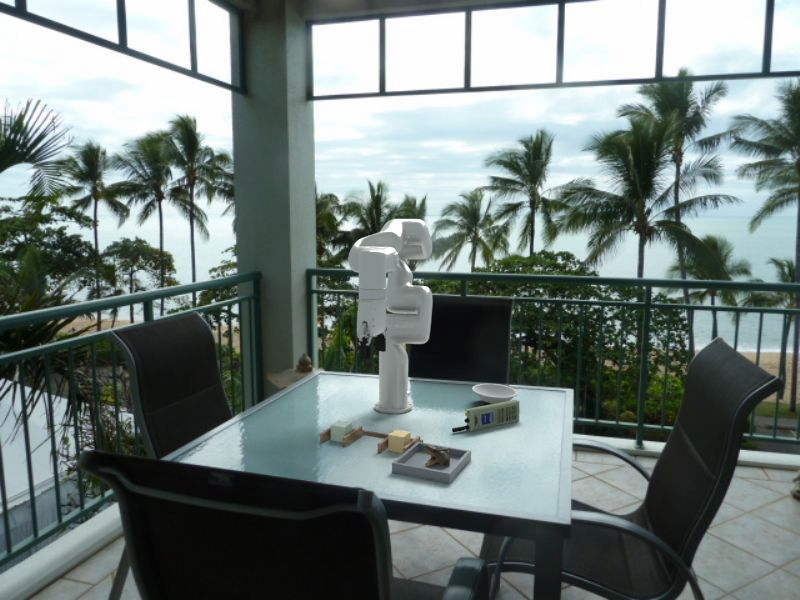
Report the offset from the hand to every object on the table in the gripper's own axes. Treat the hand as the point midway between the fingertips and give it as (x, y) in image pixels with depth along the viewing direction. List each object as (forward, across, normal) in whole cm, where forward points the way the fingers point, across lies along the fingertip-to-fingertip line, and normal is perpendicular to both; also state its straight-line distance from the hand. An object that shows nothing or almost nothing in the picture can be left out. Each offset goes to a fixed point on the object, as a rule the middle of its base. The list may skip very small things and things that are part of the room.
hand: (373, 355), depth 165 cm
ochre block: (+24, +5, +10) cm, 27 cm away
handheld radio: (+26, -22, +27) cm, 43 cm away
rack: (+24, +4, +1) cm, 25 cm away
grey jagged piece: (+23, +13, +22) cm, 35 cm away
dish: (+26, -46, +24) cm, 58 cm away
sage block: (+24, +4, -8) cm, 26 cm away
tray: (+24, +12, +22) cm, 35 cm away
